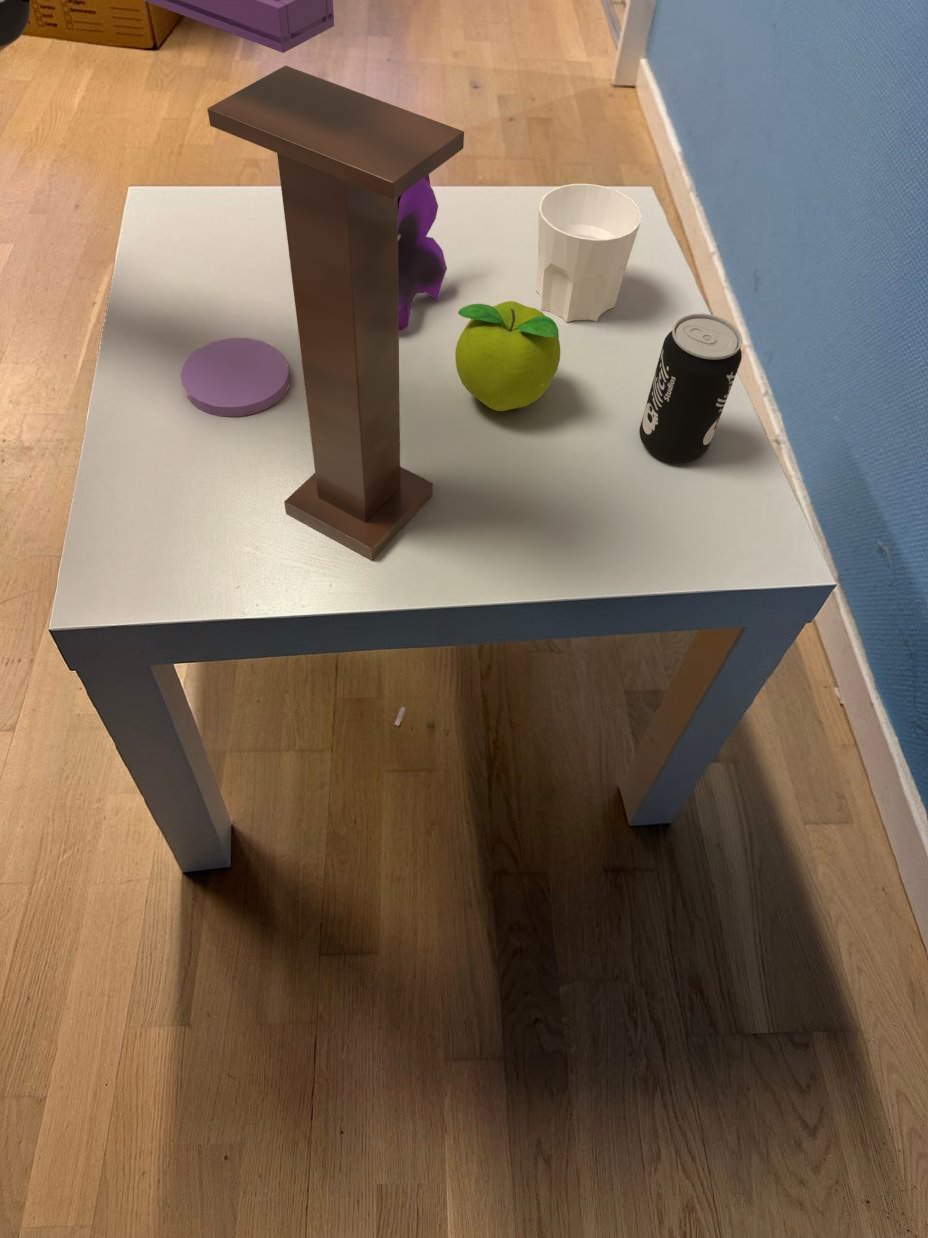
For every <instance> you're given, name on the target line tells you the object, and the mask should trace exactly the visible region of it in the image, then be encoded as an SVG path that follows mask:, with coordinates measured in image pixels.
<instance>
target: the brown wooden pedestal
mask: <svg viewBox="0 0 928 1238" xmlns="http://www.w3.org/2000/svg"><path fill="white" fill-rule="evenodd" d="M206 109H207V110H206V111H207V115H208V121H209V125H210V127H211V128H215V129H218V130H220V131H221V132H224V133H227V134H229V135H231V136H234V137H236V138H239V139H241V140H244V141H247V142H249V143H251V144H254V145H256V146H259V147H262V148H264V149H267V150H269V151H272V152H273V153H276V155H277V164H278V173H279V181H280V189H281V190H280V191H281V197H282V206H283V207H282V208H283V215H284V222H285V230H286V231H285V233H286V239H287V248H288V256H289V265H290V273H291V274H290V275H291V281H292V290H293V299H294V306H295V315H296V323H297V331H298V341H299V349H300V356H301V365H302V373H303V381H304V389H305V400H306V406H307V416H308V423H309V432H310V441H311V449H312V458H313V466H314V473H313V474H312V475H311V476H310V477H308V478H307V480H306V481H305V482H303V483H302V484H301V485H300V486H299V487H298V488H297V489H296V490H295V491H294V492H293V493H292V494H291V495H290V496H288V497H287V498H286V499H285V500H284V502H283V504H284V510H285V514H286V515H288V516H290V517H291V518H293V519H295V520H297V521H299V522H300V523H303V524H304V525H306V526H308V527H310V528H311V529H313V530H315V531H317V532H319V533H321V534H322V535H325V536H326V537H328V538H329V539H332V540H333V541H335V542H337V543H338V544H341V545H343V546H344V547H346V548H347V549H350V550H351V551H354V552H355V553H358V555H361V556H363V557H364V558H366V559H368V560H370V561H374V559H375V558H376V557H377V556H378V555H379V554H380V553H381V552H382V551H383V550H384V548H385V547H387V545H388V544H389V543H390V542H391V541H392V540H393V539H394V537H396V536H397V534H398V533H399V532H400V531H401V530H402V529H403V528H404V527H405V526H406V525H407V524H408V523H409V521H410V520H411V519H412V518H413V517H414V516H415V515H416V514H417V512H419V511H420V510H421V509H422V508H423V506H425V504H426V503H427V502H428V501H429V500H430V499H431V498H432V497H433V495H434V483H433V482H431V481H429V480H427V479H425V478H424V477H422V476H420V475H418V474H416V473H414V472H412V471H410V470H407V469H406V468H404V467H402V466H401V420H400V419H401V417H400V416H401V415H400V414H401V413H400V411H401V410H400V409H401V408H400V407H401V406H400V405H401V403H400V401H401V400H400V330H399V308H398V217H397V198H398V197H399V196H400V195H402V194H403V193H404V192H406V191H407V190H408V189H410V188H411V187H412V186H414V185H415V184H416V183H418V182H419V181H420V180H422V179H423V178H424V177H426V176H427V175H428V174H429V175H430V174H431V173H432V172H434V171H435V170H436V169H438V168H439V167H441V166H442V165H443V164H445V163H446V162H447V161H449V160H450V159H452V158H453V157H454V156H455V155H457V154H458V153H459V152H461V151H462V150H464V146H465V131H464V130H462V129H459V128H457V127H454V126H450V125H448V124H445V123H443V122H440V121H437V120H435V119H431V118H429V117H426V116H424V115H421V114H418V113H416V112H413V111H410V110H407V109H404V108H402V107H400V106H397V105H393V104H391V103H389V102H386V101H384V100H380V99H378V98H375V97H372V96H369V95H367V94H364V93H362V92H358V91H356V90H354V89H351V88H348V87H345V86H344V85H343V86H342V85H340V84H337V83H334V82H332V81H329V80H326V79H323V78H321V77H319V76H316V75H313V74H311V73H307V72H305V71H302V70H300V69H296V68H294V67H291V66H289V65H283V66H282V67H280V68H278V69H276V70H274V71H273V72H271V73H269V74H267V75H265V76H263V77H262V78H260V79H258V80H256V81H254V82H252V83H251V84H249V85H247V86H245V87H244V88H242V89H239V90H238V91H236V92H235V93H232V94H231V95H229V96H227V97H225V98H224V99H222V100H220V101H218V102H216V103H214V104H213V105H211V106H209V107H207V108H206Z"/></svg>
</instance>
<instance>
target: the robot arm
mask: <svg viewBox="0 0 928 1238" xmlns="http://www.w3.org/2000/svg"><path fill="white" fill-rule="evenodd" d="M30 16H31V0H0V52H2V51H3V50H5V49H6V48H7V47H9V46H10V45H12V44H13V43H14V42H16V41H17V40H19V38H20V37H21V36H22V35H24V32H25V30H26V29H27V26H28V24H29V21H30Z"/></svg>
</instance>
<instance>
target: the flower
mask: <svg viewBox="0 0 928 1238" xmlns="http://www.w3.org/2000/svg"><path fill="white" fill-rule="evenodd" d="M430 179H431V178H430V174H428V175H427V176H426V177H424V178H423V179H422V180H420V181H419V182H418V183H416V184H415V185H414V186H412V187H411V188H410V189H408V190H407V191H406V192H404V193H403V194H402V195H400V196H399V197H398V198H397V217H398V308H399V331H403V330H406V329H408V328H409V323H410V322H409V321H410V316H411V311H412V305H413V303H414V300H415V298H416V296H417V294H426V295H429V296H431V297H432V298H434V299H436V300H439V296H440V292H441V288H442V285H443V281H444V279H445V277H446V273H447V270H448V267H447V263H446V259H445V255H444V251H443V248H442V247H441V246H440V245H439V243H438V242H437V241H436V240H435V238H433V237H430V236H428V234H429V232H430V230H431V228H432V226H433V224H434V222H435V221H436V219H437V216H438V215H437V214H438V210H439V204H438V201H437V198H436V194H435V191H434V189H433V187H432V185H431V181H430Z"/></svg>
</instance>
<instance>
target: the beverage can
mask: <svg viewBox="0 0 928 1238" xmlns="http://www.w3.org/2000/svg"><path fill="white" fill-rule="evenodd" d="M742 344H743V337H742V334H741V332H740V330H739V329H738V328H737V327H736V326H735V325H734V324H733V323H732V322H730V321H728V320H727V319H725V318H724V317H723V318H722V317H720V316H718V315H715V314H709V313H690V314H687V315H684V316H682V317H680V318H678V319H677V320H676V322H675V323H674V324H673V327H672V329H671V331H670V332H669V333H668V334H667V335H666V336H665V337H664V340H663V343H662V346H661V350H660V354H659V357H658V361H657V363H656V364H657V365H656V368H655V371H654V375H653V379H652V383H651V386H650V390H649V394H648V397H647V400H646V404H645V406H644V407H645V408H644V411H643V414H642V417H641V418H642V419H641V422H640V425H639V429H638V430H639V432H638V433H639V438H640V441H641V443H642V444H643V445H644V447H645V448H646V450H647V451H648V452H649V453H650V454H651V455H653V456H654V457H655V458H657V459H659V460H661V461H663V462H667V463H673V464H683V463H689V462H692V461H694V460H697V459H699V458H700V457H702V456H704V455H705V454H706V453H707V451H708V450H709V448H710V446H711V443H712V440H713V437H714V435H715V432H716V429H717V427H718V424H719V422H720V419H721V416H722V413H723V410H724V408H725V405H726V403H727V400H728V397H729V395H730V392H731V390H732V386H733V383H734V381H735V378H736V376H737V373H738V370H739V369H740V365H741V362H742V360H743V359H742V357H743V355H742V354H743V353H742V352H743V351H742V349H741V347H742Z"/></svg>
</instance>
